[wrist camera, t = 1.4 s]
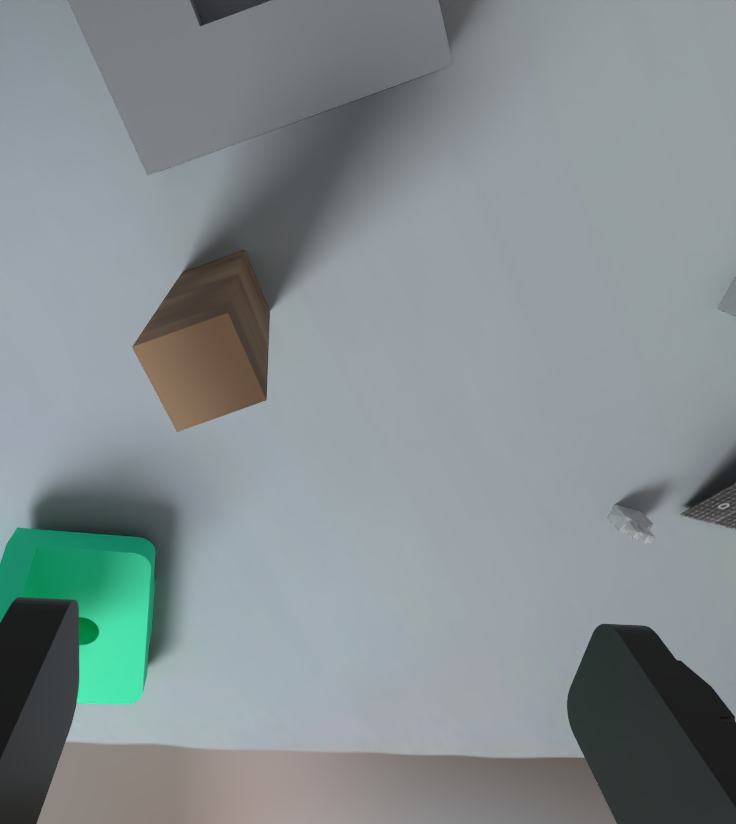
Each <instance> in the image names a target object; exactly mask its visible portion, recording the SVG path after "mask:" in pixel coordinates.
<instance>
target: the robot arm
mask: <svg viewBox="0 0 736 824" xmlns="http://www.w3.org/2000/svg"><path fill="white" fill-rule="evenodd" d="M78 689H79V607H78V602H77V601H76V600H70V599H49V598H29V597H18V598H16V599H15V600H14V601H13V602H12V604H11V605H10V607H9V608H8V610H7V612H6V614H5V615H4V617H3V619H2V621H1V622H0V824H36V823H37V820H38V818H39V815H40V812H41V809H42V806H43V804H44V801H45V798H46V795H47V792H48V789H49V786H50V784H51V781H52V778H53V775H54V772H55V770H56V767H57V764H58V761H59V758H60V755H61V753H62V750H63V747H64V744H65V741H66V738H67V736H68V733H69V730H70V727H71V723H72V720H73V716H74V712H75V708H76V703H77V697H78ZM567 710H568V718H569V722H570V726H571V729H572V731H573V734H574V736H575V738H576V740H577V742H578V744H579V746H580V748H581V750H582V752H583V754H584V756H585V759H586V760H587V763H588V765H589V767H590V769H591V771H592V773H593V775H594V777H595V779H596V781H597V783H598V785H599V787H600V789H601V791H602V793H603V795H604V798H605V800H606V802H607V804H608V806H609V808H610V810H611V812H612V814H613V816H614V818H615V820H616V822H617V824H736V722H735V717H734V715H733V714H732V713H731V711H730V710H729V709H728V708H727V706H726V705H725V704H724V702H723V701H722V700H721V699H720V697H719V696H718V695H717V693H716V692H715V691H714V689H713V688H712V687H711V686H710V685H709V684H707V683H706V682H705V681H704V680H703V679H702V678H700V677H699V676H698V675H697V674H696V673H694V672H693V671H692V670H691V669H690V668H688V667H687V666H686V665H685V664H684V663H683V662H681V661H679V660H676V659H675V658H674V656H673V655H672V654H671V652H670V651H669V650H668V648H667V647H666V646H665V644H664V643H663V642H662V640H661V639H660V638H659V636H658V635H657V634H656V633H655V632H654V631H653V630H652V629H651V628H649V627H647V626H637V625H617V624H601V625H599V626H598V627H597V628H596V629H595V630H594V632H593V634H592V637H591V639H590V641H589V644H588V646H587V649H586V651H585V653H584V656H583V658H582V661H581V663H580V665H579V668H578V670H577V673H576V675H575V677H574V680H573V682H572V685H571V687H570V690H569V693H568V700H567Z"/></svg>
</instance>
